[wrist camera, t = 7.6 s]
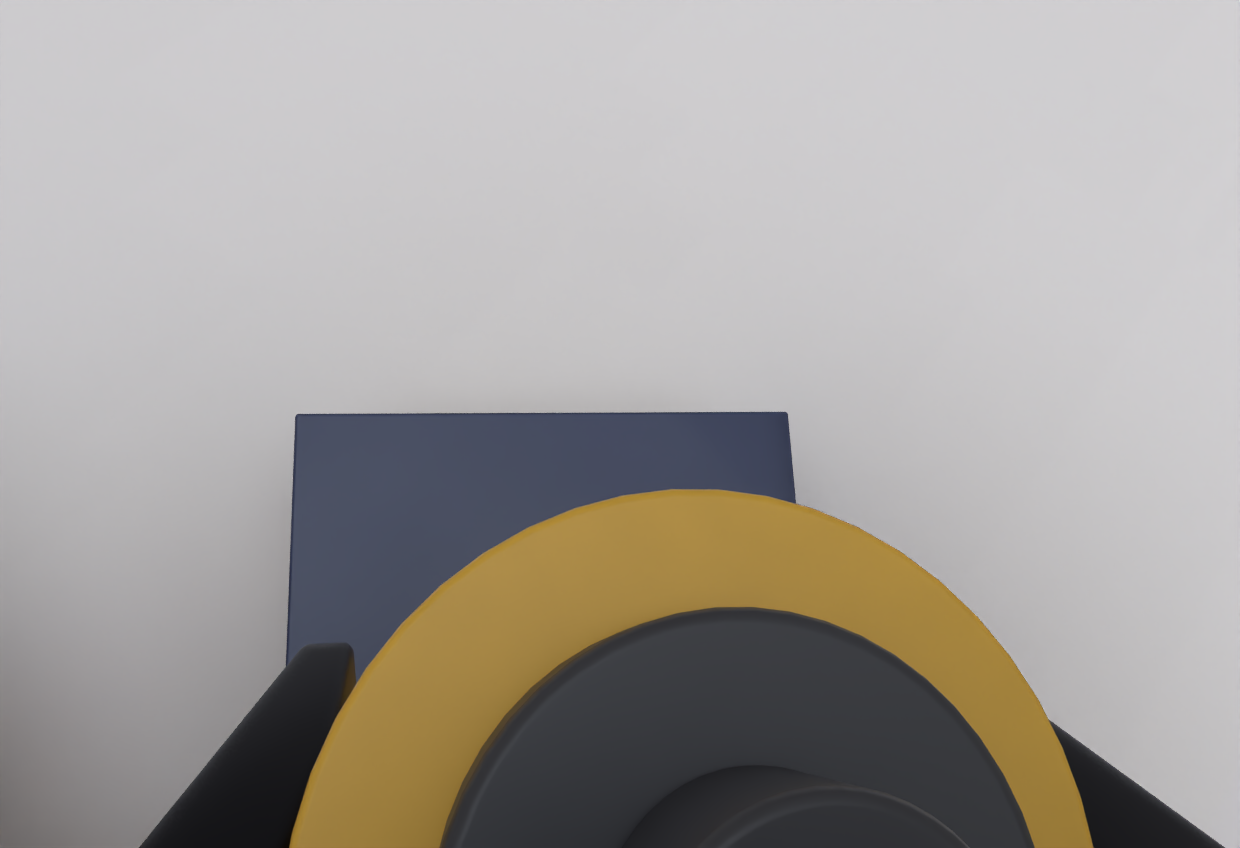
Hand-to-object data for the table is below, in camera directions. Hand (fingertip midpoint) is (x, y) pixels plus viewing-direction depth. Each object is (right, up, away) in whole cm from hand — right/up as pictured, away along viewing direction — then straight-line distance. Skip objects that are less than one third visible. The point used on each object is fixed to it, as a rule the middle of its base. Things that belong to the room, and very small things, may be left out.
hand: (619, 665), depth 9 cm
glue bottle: (-1, -3, +4) cm, 5 cm away
